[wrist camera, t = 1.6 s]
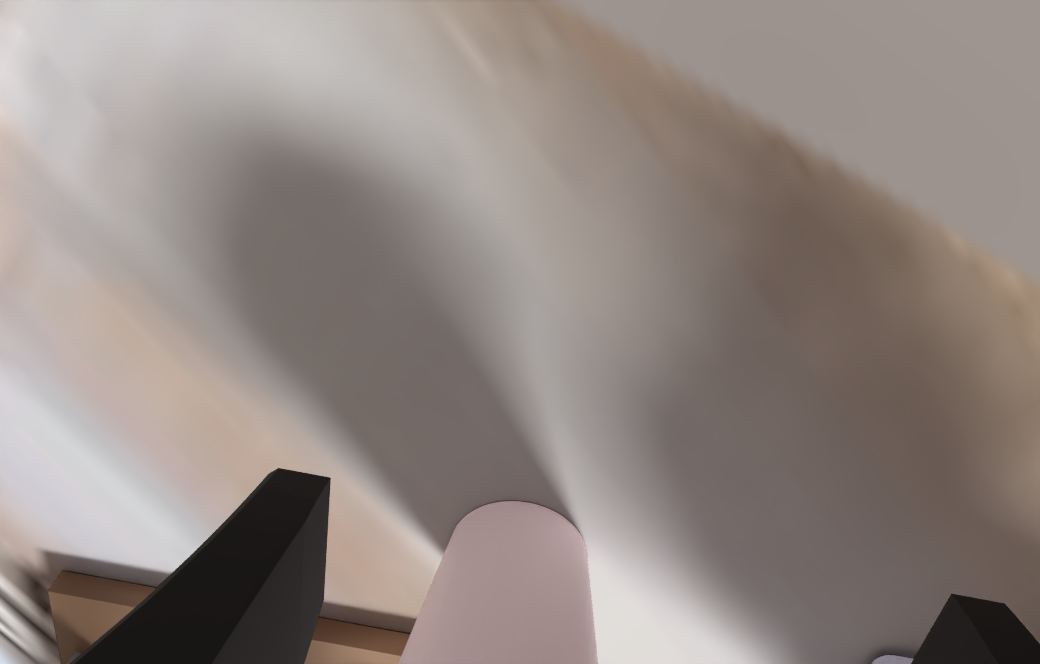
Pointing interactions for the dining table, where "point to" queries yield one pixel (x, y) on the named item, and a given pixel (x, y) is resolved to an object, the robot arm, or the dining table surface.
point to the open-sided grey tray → (103, 602)
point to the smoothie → (508, 593)
